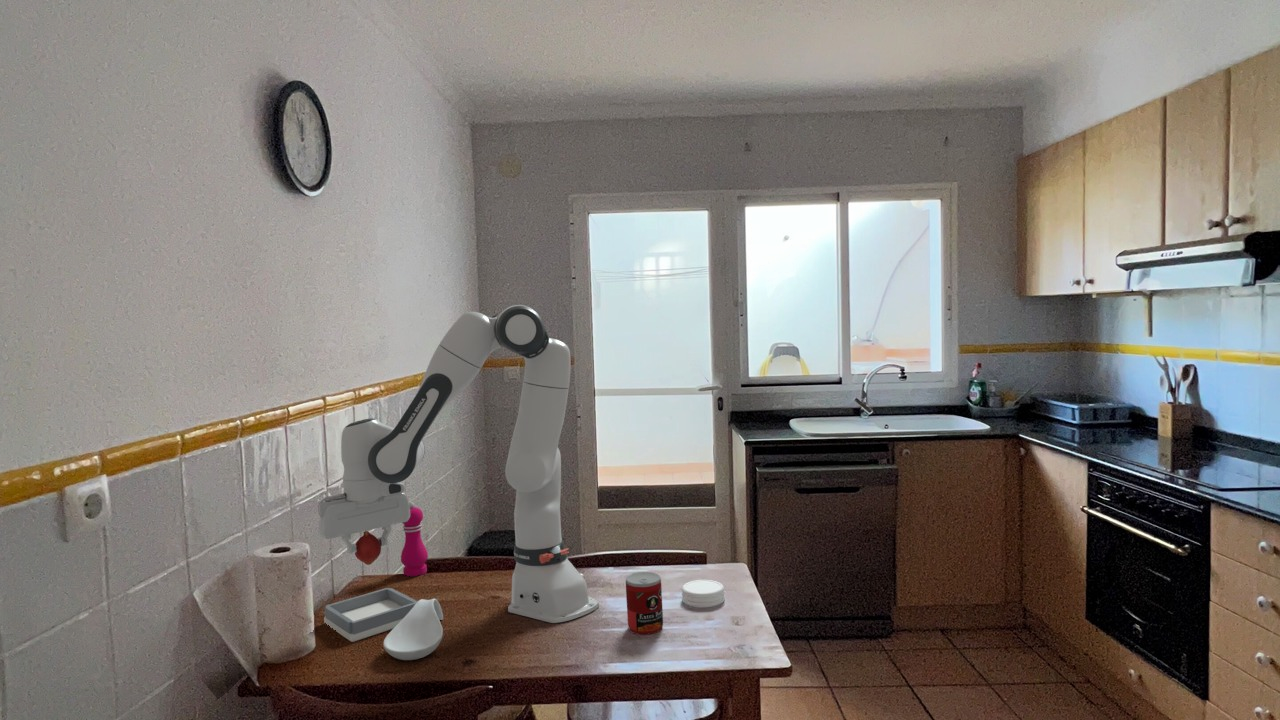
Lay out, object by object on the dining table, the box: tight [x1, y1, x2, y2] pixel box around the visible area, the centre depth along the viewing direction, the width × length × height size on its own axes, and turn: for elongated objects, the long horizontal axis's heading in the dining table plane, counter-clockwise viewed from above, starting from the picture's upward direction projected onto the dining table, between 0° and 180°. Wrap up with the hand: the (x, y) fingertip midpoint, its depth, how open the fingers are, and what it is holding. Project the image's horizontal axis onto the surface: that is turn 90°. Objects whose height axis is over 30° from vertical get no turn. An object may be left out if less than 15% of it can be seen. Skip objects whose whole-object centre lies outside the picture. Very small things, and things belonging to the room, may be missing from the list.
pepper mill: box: [400, 501, 429, 577], centre depth 201 cm, size 7×7×20 cm
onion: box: [354, 530, 382, 566], centre depth 167 cm, size 6×6×8 cm
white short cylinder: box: [681, 579, 726, 609], centre depth 170 cm, size 10×10×4 cm
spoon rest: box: [383, 598, 444, 661], centre depth 154 cm, size 24×12×7 cm, turn 5°
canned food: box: [625, 571, 664, 636], centre depth 156 cm, size 8×8×11 cm
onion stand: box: [323, 587, 419, 643], centre depth 167 cm, size 16×16×4 cm
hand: (367, 549), depth 167 cm, fingers closed on onion, 6 cm apart
